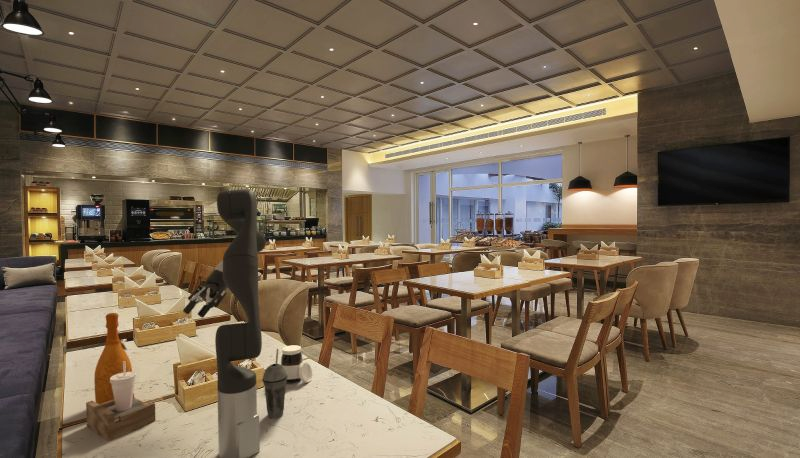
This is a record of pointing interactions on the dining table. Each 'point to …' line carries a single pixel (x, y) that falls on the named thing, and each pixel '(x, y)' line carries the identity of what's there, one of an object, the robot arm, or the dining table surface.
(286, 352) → the spread jar
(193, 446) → the dining table surface
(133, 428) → the brown wooden tray
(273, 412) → the beverage cup
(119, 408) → the smoothie
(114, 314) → the wine bottle
